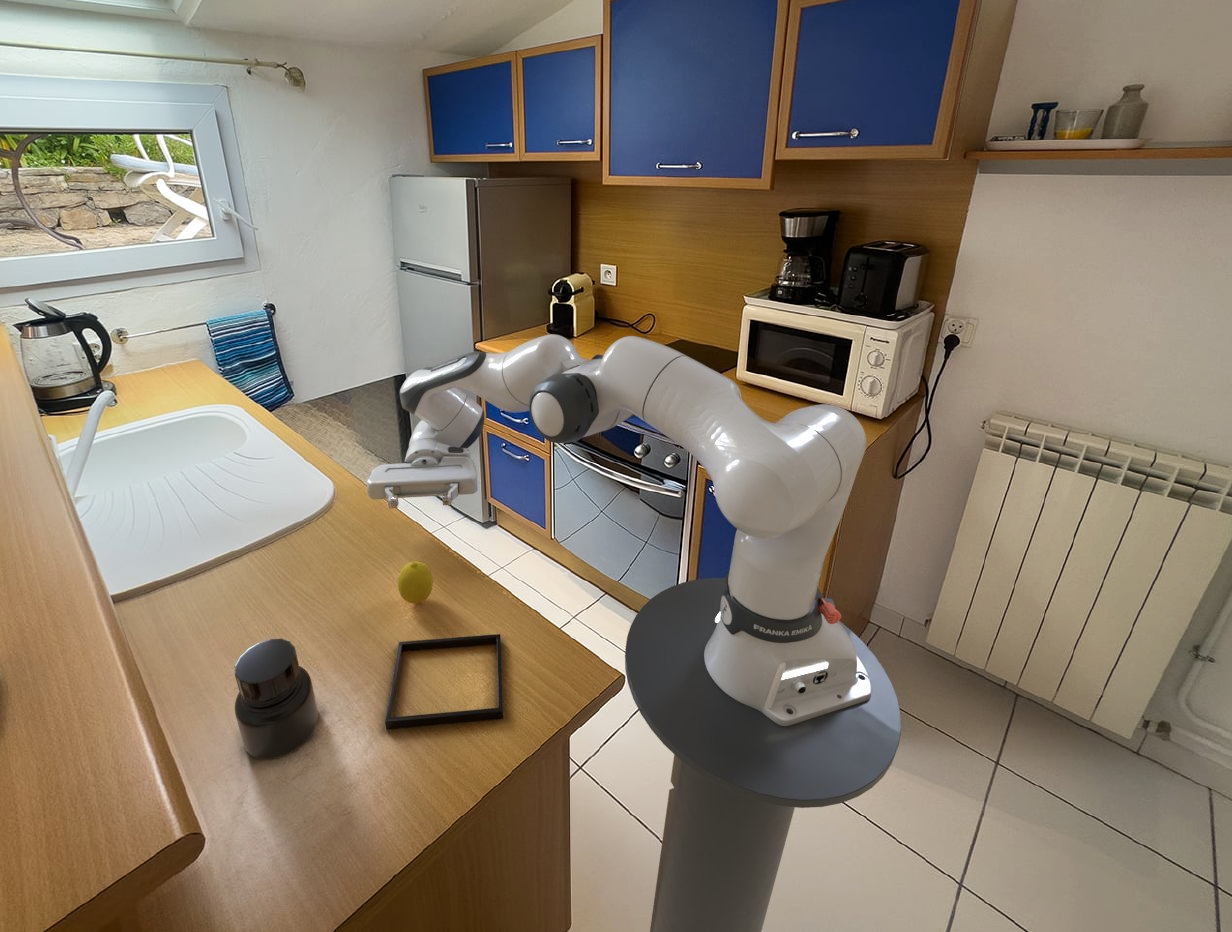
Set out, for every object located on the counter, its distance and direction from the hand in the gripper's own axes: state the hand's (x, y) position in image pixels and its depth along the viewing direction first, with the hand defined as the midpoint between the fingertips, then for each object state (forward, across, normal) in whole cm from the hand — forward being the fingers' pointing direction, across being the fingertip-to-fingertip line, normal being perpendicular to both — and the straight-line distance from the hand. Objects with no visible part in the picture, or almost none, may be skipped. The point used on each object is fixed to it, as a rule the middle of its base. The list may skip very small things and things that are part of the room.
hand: (419, 503), depth 102 cm
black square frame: (+28, +6, +12) cm, 31 cm away
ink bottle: (+33, -15, +12) cm, 38 cm away
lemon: (+12, 0, +12) cm, 17 cm away
